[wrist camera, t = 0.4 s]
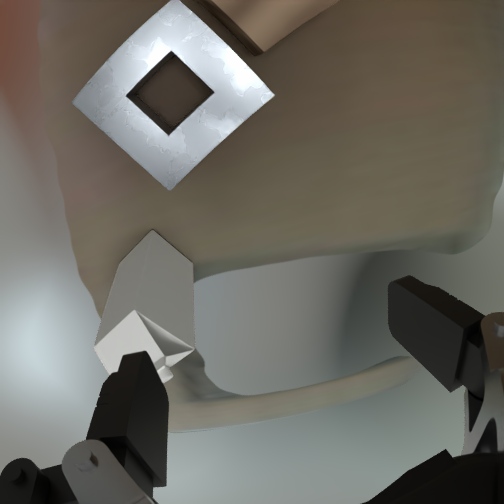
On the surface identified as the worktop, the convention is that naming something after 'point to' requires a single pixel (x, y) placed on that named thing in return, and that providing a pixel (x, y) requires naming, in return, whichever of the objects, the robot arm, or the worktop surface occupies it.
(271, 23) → the wooden block with hole
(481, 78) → the worktop surface
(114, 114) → the holder
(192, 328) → the milk carton
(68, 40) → the worktop surface
